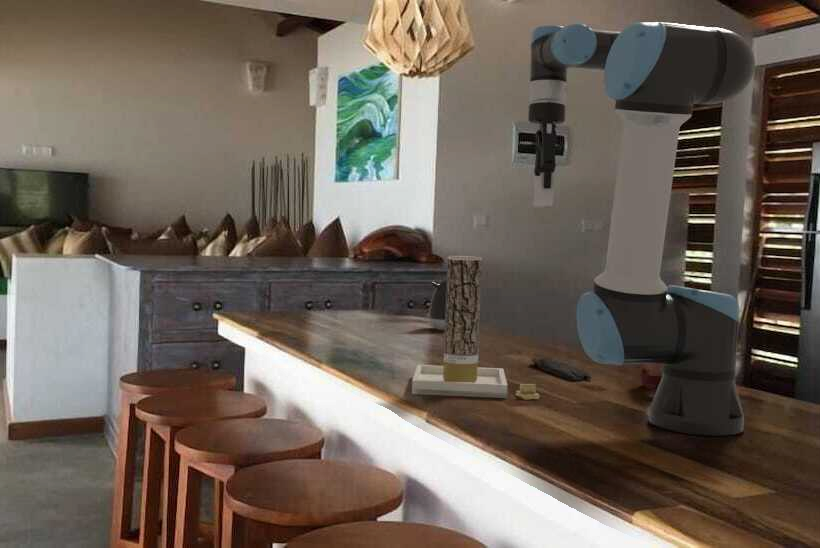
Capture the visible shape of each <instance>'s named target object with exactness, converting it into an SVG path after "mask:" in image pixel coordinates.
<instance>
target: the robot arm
mask: <svg viewBox="0 0 820 548" xmlns="http://www.w3.org/2000/svg"><path fill="white" fill-rule="evenodd" d="M573 68H574V69H587V70H601V71H604V72H603V82H604V90H605V93H606V95H607V96H608V97H609V98H610V99H612V100H613V101H615V103H614V105H615V106H614V112H615V114H616V115H618V117H619V118H620V120H621V122H622V129H621V137H620V138H621V139H620V147H619V153H618V154H619V155H618V163H617V169H616V170H617V171H616V177H615V178H616V179H615V185H614V197H613V202H612V203H613V204H612V211H611V218H610V219H611V221H610V227H609V236H608V245H607V253H606V254H607V255H606V261H605V262H606V263H605V268H604V270H603V272H601V273H600V274H599V275H598V276H596V277H594V280H593V289H592V291H588V292H585V293H583V294H581V296H580V297H579V300H578V301H577V302H578V303H577V307H576V325H577V331H578V336H579V340H580V342H581V346H582V348H583V349H584V352H585V353H586V355H587V356H588V357H589V358H590V359H591V360H592V361H593V362H595V363H598V364H603V365H604V364H606V365H607V364H608V365H615V366H622V365H643V364H663V372H662V379H661V381H660V384H659V386H658V389H657V391H655V394H654V397H653V399H652V402H651V405H650V407H649V414H648V415H649V417H648V419H649V420H648V421H649V423H650V424H652V425H654V426H656V427H658V428H661V429H665V430H668V431H672V432H676V433H682V434H689V435H695V436H696V435H697V436H711V437H712V436H713V437H714V436H717V437H718V436H719V437H720V436H732V435H733V436H735V435H737V434H741V433H743V431H744V426H745V425H744V424H745V423H744V422H745V415H744V413H743V412H744V411H743V409H742V404H741V401H740V396H739V393H738V390H737V387H736V369H737V368H736V367H737V351H738V335H739V325H740V324H741V323H740V322H741V321H740V312H739V311H740V310H739V309H740V307H739V301H738V299H737V298H736V297H735V296H733V295H732V294H727V293H721V292H715V291H711V290H710V291H709V290H702V289H697V288H691V287H685V286H680V285H679V286H678V285H673V284H671V285H670V284H669V285H668V286H667V285H666V284H665V282H664V281H663V280H662V279H661V276H660V274H661V266H662V261H663V260H662V259H663V254H664V244H665V239H666V232H667V231H666V230H667V223H668V215H669V209H670V201H671V195H672V187H673V179H674V173H675V172H674V171H675V165H676V157H677V150H678V143H679V142H678V141H679V135H680V127H681V126H682V125H683V124H684V123H686V122H687V121H688V120H689V119H691V117H692V115H693V107H694V105H717V104H721V103H726V102H728V101H730V100H732V99H735V98H736V97H737V96H739V95H740V94H742V93H743V92H744V90H745V89H746V88H747V87H748V86H749V85H750V83H751V81H752V78H753V76H754V73H755V70H756V69H755V68H756V59H755V54H754V50H753V49H752V47H751V45H750V44H749V42H748V41H747V40H746V39H745V38H744V37H742V36H741V35H739V34H738V33H736V32H734V31H731V30H728V29H725V28H722V27H721V28H720V27H706V26H698V25H697V26H696V25H687V24H679V23H671V22H661V21H659V22H658V21H655V22H654V21H649V22H645V21H643V22H642V21H641V22H639V21H638V22H632V23H631V24H629V25H627V26H626V27H624V28H623V29H622V30H621V31H613V30H612V31H610V30H605V29H604V30H602V29H592V28H591V27H589V26H588V25H586V24H583V23H580V22H579V23H578V22H577V23H573V24H568V25H565V26H562V25H553V24H551V25H549V24H548V25H546V24H545V25H542V26H538V27H536V28H534V30H533V31H532V36H531V43H530V76H529V91H528V92H529V93H528V101H529V102H530V104H529V105H528V118H527V119H528V122H529V123H531V124H536V125H537V124H539V129H537V130H536V132H535V158H534V159H535V162H534V169H533V172H534V184H533V185H534V189H533V191H534V192H533V207H547V206H553V203H554V187H555V185H554V183H555V170H556V168H557V166H556V165H557V164H556V139H557V131H556V128H557V126H556V125H560V124H563V123H564V122H565V121H566V120H565V118H566V105H565V104H563V103H565V102H566V98H567V96H566V95H567V93H569V92H570V89H569V87H566V86H567V80H568V79H567V78H568V77H567V74H568V70H569V69H573Z"/></svg>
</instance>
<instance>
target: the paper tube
mask: <svg viewBox="0 0 820 548" xmlns="http://www.w3.org/2000/svg"><path fill="white" fill-rule="evenodd" d="M482 258H483V257H482V256H473V255H472V256H471V255H448V256H447V260H446V261H447V262H446V279H447V283H446V310H445V331H444V337H443V338H444V341H443V343H444V344H443V345H444V347H443V366H444V368H443V379H444V380H445V381H448V382H470V383H475V382H476V380H477V367H479V366H478V362H479V343H480V342H479V340H480V339H479V338H480V316H481V314H480V313H481V312H480V311H481V291H482V266H483V265H482V263H483V261H482V260H483V259H482Z"/></svg>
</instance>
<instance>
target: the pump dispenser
mask: <svg viewBox="0 0 820 548" xmlns="http://www.w3.org/2000/svg"><path fill="white" fill-rule="evenodd" d="M446 283H447V278H446V279H443V280H440V281H439V282H438V283H436V282H434V281H431V282H430V286H432V287H434V288H435V289H434V292H433V293H432V296H431V300H430V305H429V310H428V318H429V322H430V324H431V326H432V327H433V328H434V329H435V330H437V331H443V332H445V310H446Z"/></svg>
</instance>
